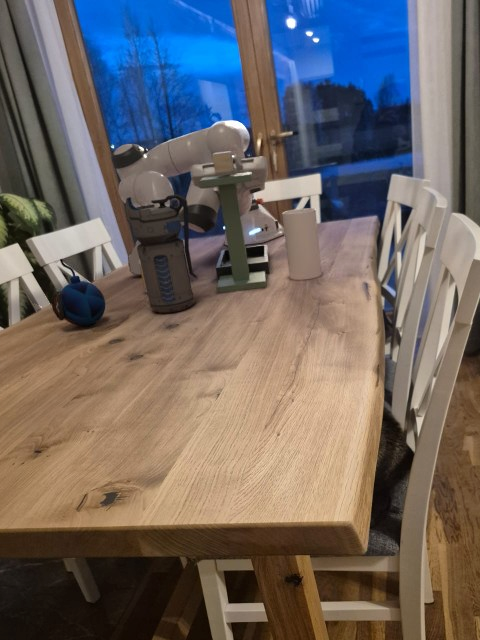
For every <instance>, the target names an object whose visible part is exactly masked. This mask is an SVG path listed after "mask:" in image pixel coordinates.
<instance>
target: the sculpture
mask: <svg viewBox="0 0 480 640" xmlns="http://www.w3.org/2000/svg"><path fill="white" fill-rule="evenodd" d="M139 244H141V243H140V242H139V241H138V240H137V239H136V242H135V246H134V248H133V249H132V251H131V252H130V253H129V255H128V256H127V261H128V263H127V265H128V267H129V272H130V273H131V274H132V275H133V274H134V275H136V276H141V272H140V267H139V260H140V258H139V255H138V251H137V247H138V245H139Z"/></svg>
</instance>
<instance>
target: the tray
mask: <svg viewBox="0 0 480 640" xmlns="http://www.w3.org/2000/svg"><path fill="white" fill-rule="evenodd" d="M245 247H246V254H247V260H248V267H249V273H250V272H258V271H265V273H266V275H270V273H271V272H270V255H269V248H268V244H259V245H252V246H251V245H250V246H245ZM215 272H216V279H217V281H219V278H220V276H226V275H233V274H232V268H231V262H230V255H229V249H222V250H221V252H220V255H219V257H218V260H217V263H216V266H215Z"/></svg>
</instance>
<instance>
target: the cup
mask: <svg viewBox="0 0 480 640" xmlns="http://www.w3.org/2000/svg"><path fill="white" fill-rule="evenodd" d="M316 211H317V210H316V208H312V207H306V208H305V207H304V208H296V209H295V208H294V209H289V210H285V211H283V212H281V215H282V223H283V224H282V225H283V233H284V240H285V248H286V256H287V264H288V265H287V266H288V272H289V279H290V280H294V281H295V280H296V281H303V280H310V279H315V278H318V277H321V276H322V274H323V273H322V261H321V253H320V243H319V232H318V231H319V230H318V221H317V212H316Z"/></svg>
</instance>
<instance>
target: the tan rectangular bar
mask: <svg viewBox="0 0 480 640" xmlns="http://www.w3.org/2000/svg"><path fill="white" fill-rule="evenodd" d="M212 157H213V163H214V169H215V173H220V172H228V171H233V169H234V165H233V159H232V152H231V151H226V152H218V153H214V154H212Z"/></svg>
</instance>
